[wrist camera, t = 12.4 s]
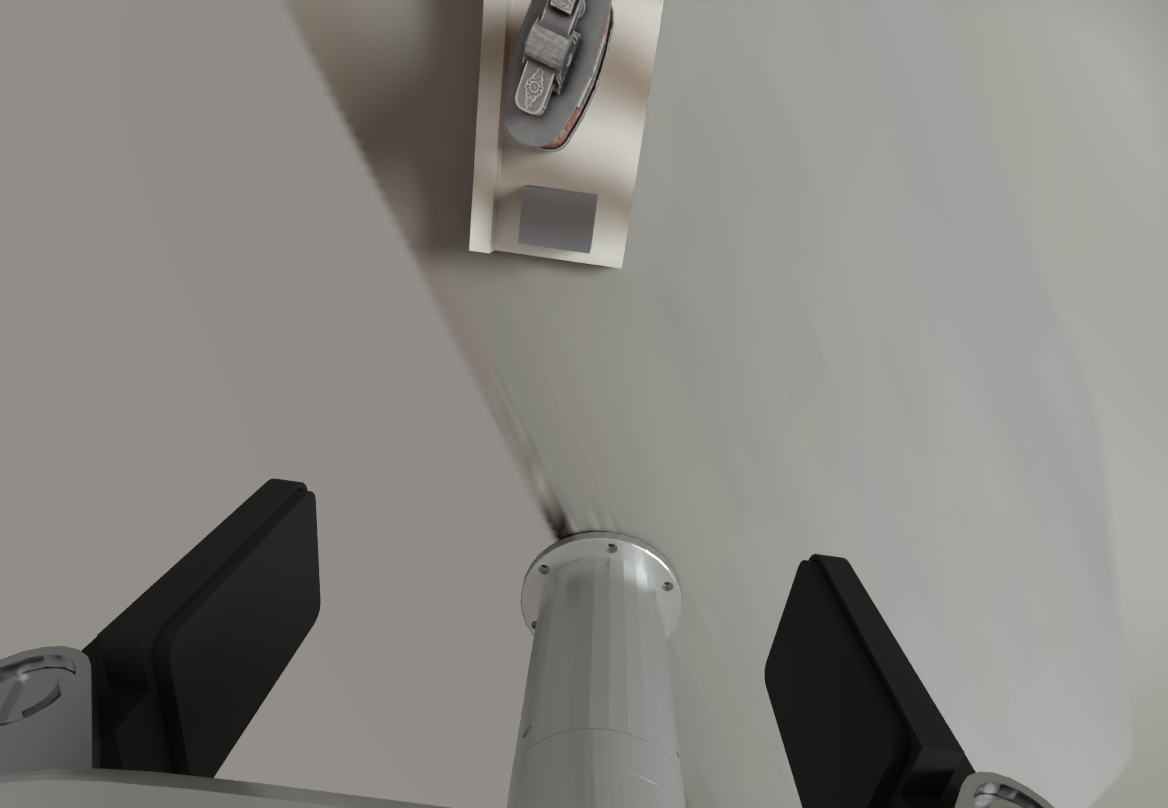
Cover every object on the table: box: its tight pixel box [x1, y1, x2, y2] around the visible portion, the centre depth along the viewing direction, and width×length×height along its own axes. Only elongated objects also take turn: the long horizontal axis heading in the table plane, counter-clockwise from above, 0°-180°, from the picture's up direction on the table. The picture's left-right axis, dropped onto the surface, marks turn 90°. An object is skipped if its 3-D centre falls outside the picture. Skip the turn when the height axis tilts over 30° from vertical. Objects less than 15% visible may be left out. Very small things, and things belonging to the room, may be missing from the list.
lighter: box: [503, 0, 614, 152], centre depth 27 cm, size 8×3×10 cm, turn 157°
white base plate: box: [469, 0, 664, 268], centre depth 31 cm, size 20×9×4 cm, turn 172°
